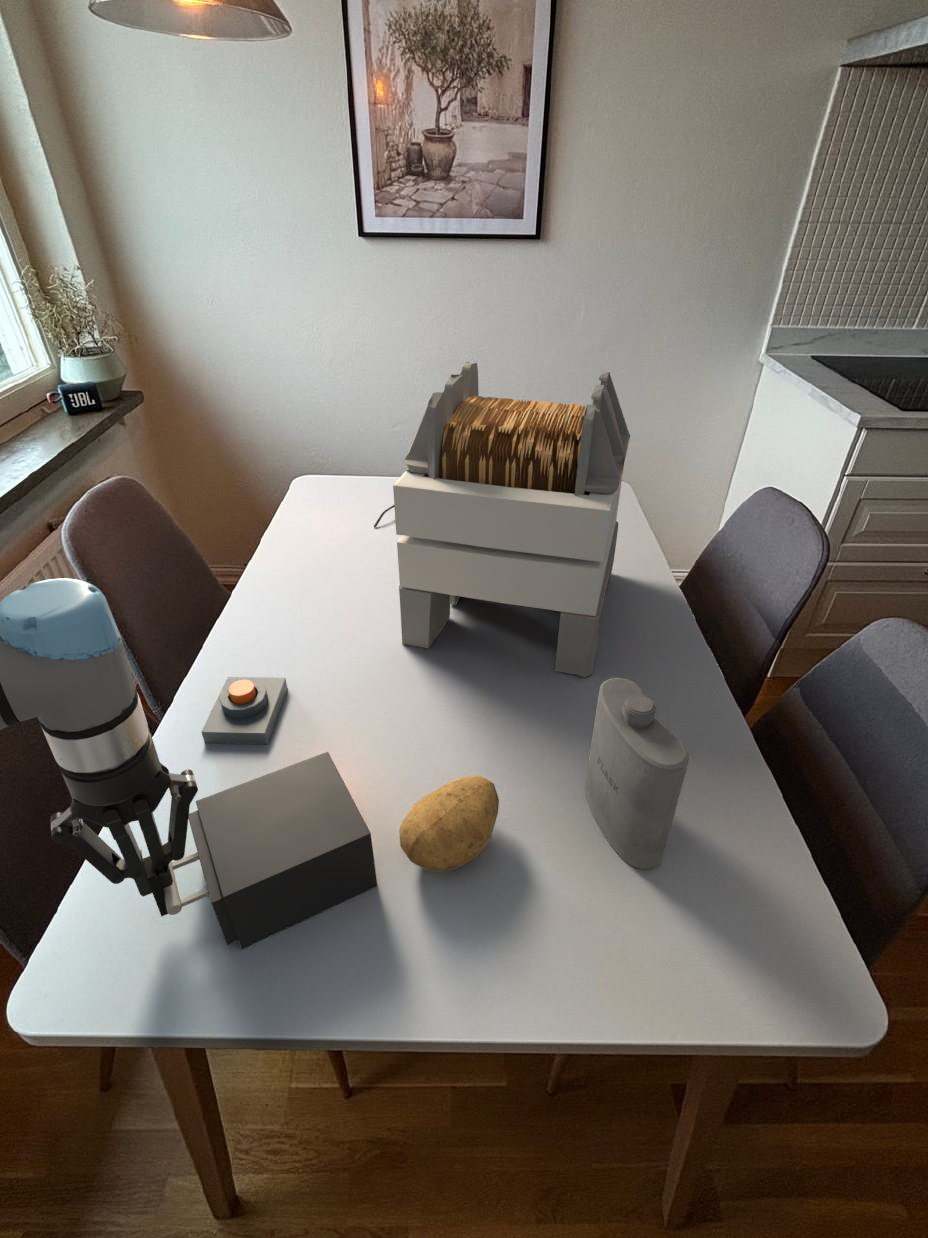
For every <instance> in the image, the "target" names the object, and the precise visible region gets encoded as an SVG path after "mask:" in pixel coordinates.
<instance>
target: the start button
mask: <svg viewBox="0 0 928 1238" xmlns="http://www.w3.org/2000/svg"><path fill="white" fill-rule="evenodd" d="M229 695H230V698H231V701H232V702H233V703H235V704H245V703H248V702H251V701H252V700H253V699H254V698H255V697H256V691H255V687H254V684H253V682H252V681H250V680H239V681H236V682H234V683H233V684H231V685H230V687H229Z"/></svg>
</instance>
